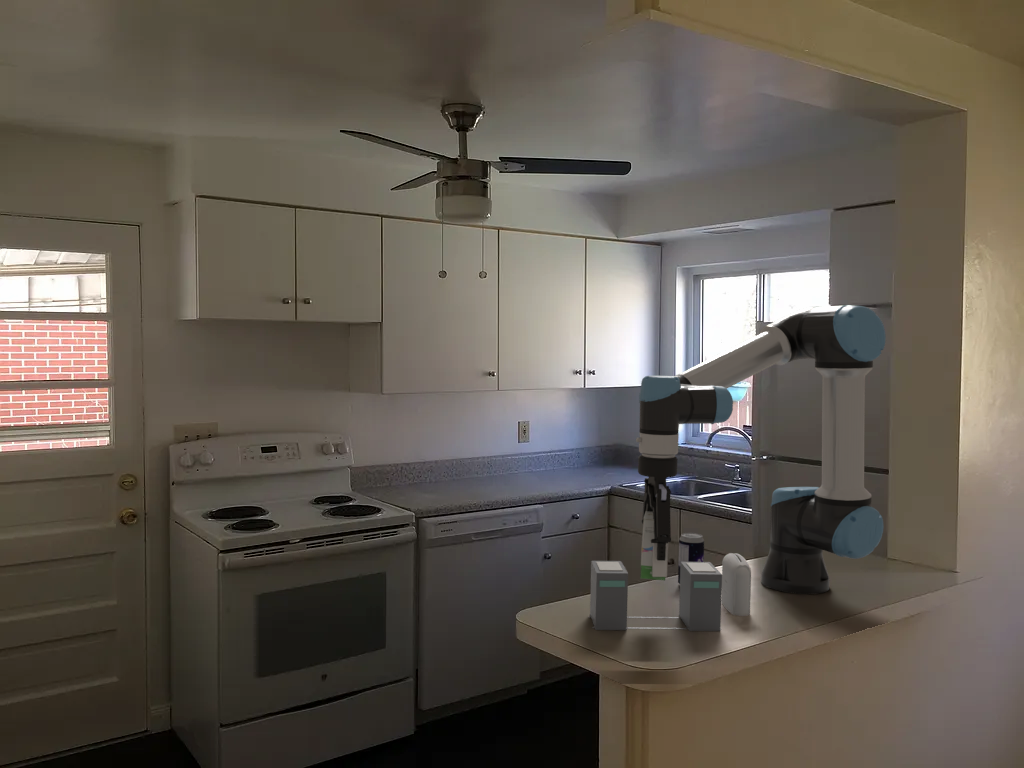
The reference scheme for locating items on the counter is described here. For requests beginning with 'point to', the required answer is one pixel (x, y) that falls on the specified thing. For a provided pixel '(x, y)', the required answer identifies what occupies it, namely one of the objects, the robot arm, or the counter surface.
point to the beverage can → (690, 549)
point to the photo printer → (736, 584)
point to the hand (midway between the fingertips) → (654, 569)
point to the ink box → (648, 547)
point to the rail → (652, 628)
